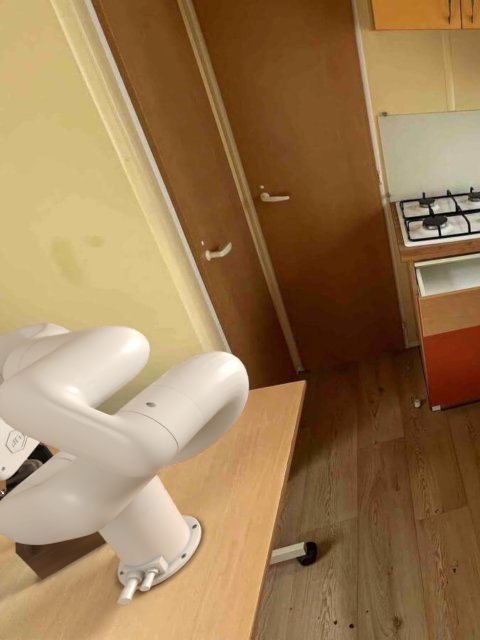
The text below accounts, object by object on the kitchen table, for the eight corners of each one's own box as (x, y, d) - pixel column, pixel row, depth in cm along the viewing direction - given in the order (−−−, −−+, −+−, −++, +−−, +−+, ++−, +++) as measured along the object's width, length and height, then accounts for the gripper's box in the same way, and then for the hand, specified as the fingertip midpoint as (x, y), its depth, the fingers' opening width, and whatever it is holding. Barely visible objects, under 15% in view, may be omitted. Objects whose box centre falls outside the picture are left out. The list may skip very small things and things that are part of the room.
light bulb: (32, 523, 79) (-14, 471, 72) (70, 498, 83) (30, 447, 76) (42, 539, 76) (-5, 488, 69) (81, 514, 80) (41, 462, 73)
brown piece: (99, 500, 89) (79, 472, 85) (107, 541, 82) (85, 514, 78) (39, 532, 83) (15, 504, 79) (42, 580, 76) (15, 552, 72)
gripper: (-46, 455, 60) (20, 526, 68) (37, 372, 75) (83, 439, 83) (-115, 468, 58) (-39, 540, 67) (-17, 381, 73) (36, 448, 81)
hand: (28, 483), depth 75 cm, fingers open, 8 cm apart
